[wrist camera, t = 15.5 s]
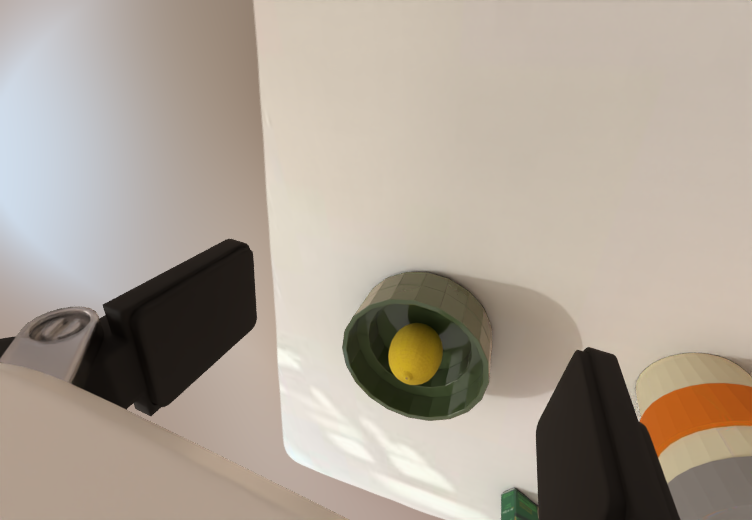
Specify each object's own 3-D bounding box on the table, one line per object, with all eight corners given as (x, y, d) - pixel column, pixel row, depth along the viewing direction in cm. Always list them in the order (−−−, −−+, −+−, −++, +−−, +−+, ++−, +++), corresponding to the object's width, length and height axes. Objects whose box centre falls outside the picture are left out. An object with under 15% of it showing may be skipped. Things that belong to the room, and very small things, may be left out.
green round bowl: (511, 294, 36) (511, 331, 31) (470, 395, 43) (464, 440, 38) (373, 253, 39) (351, 279, 34) (357, 353, 47) (336, 388, 41)
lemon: (439, 356, 42) (425, 409, 35) (395, 338, 43) (373, 386, 36) (454, 321, 39) (442, 370, 32) (407, 302, 40) (385, 346, 33)
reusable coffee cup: (629, 441, 39) (688, 615, 26) (601, 348, 35) (652, 495, 23) (788, 436, 33) (964, 656, 20) (772, 325, 30) (970, 503, 17)
